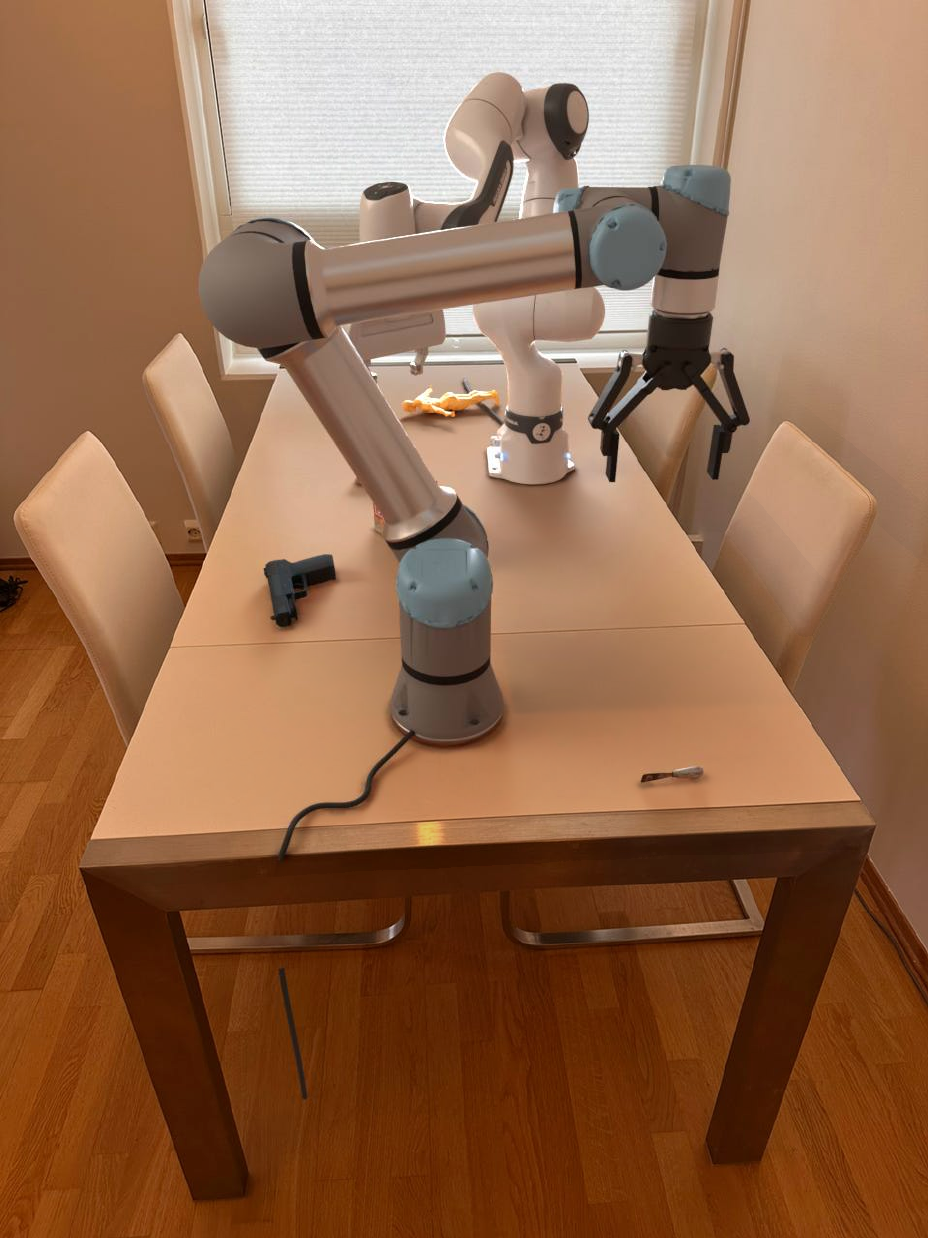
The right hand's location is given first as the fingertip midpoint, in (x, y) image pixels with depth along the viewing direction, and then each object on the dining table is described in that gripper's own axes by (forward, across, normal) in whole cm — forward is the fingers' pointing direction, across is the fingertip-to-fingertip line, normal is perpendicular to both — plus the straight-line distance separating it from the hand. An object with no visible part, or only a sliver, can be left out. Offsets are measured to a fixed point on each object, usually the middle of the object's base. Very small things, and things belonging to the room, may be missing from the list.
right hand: (394, 379), depth 151 cm
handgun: (+29, +26, +9) cm, 40 cm away
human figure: (+29, -50, -49) cm, 76 cm away
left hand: (+1, -5, +55) cm, 55 cm away
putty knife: (+29, +13, +76) cm, 83 cm away
